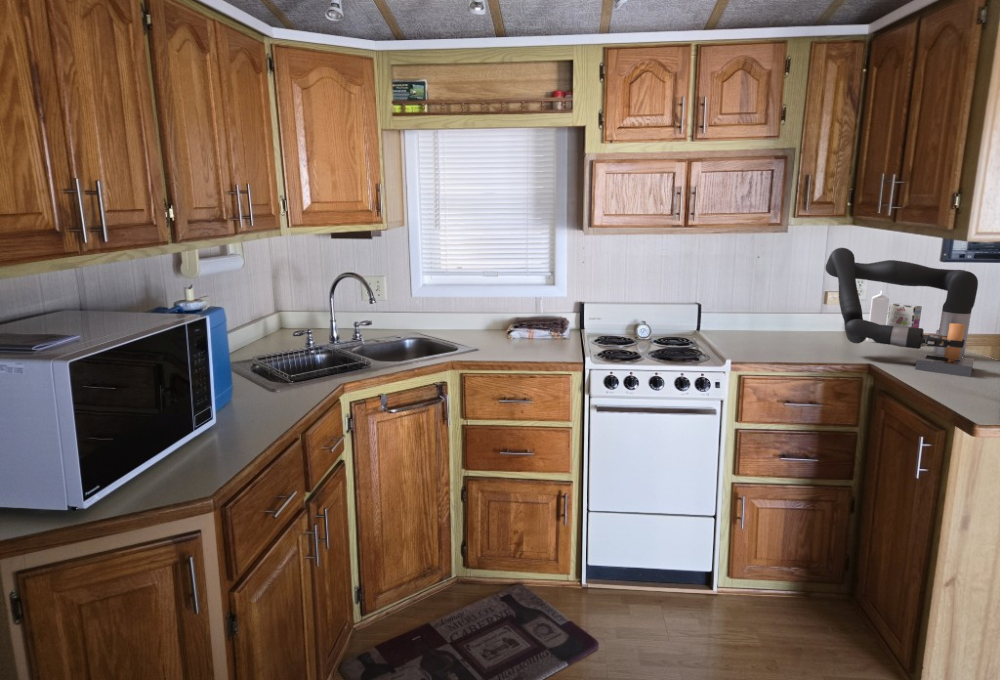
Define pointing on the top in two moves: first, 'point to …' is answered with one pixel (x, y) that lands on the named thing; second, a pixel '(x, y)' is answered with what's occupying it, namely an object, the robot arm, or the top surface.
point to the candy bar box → (904, 315)
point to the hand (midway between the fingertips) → (963, 343)
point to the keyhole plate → (944, 364)
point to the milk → (878, 310)
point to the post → (957, 335)
